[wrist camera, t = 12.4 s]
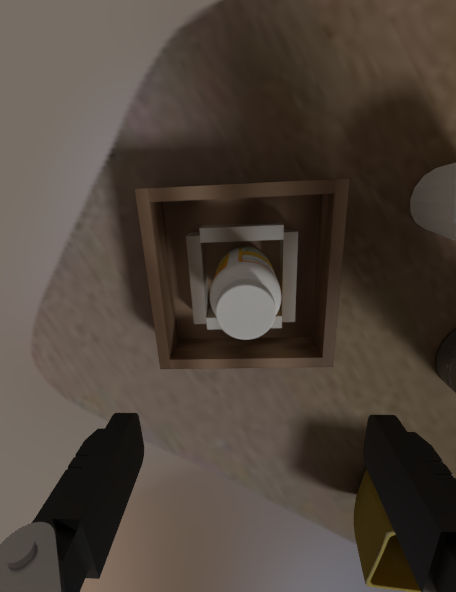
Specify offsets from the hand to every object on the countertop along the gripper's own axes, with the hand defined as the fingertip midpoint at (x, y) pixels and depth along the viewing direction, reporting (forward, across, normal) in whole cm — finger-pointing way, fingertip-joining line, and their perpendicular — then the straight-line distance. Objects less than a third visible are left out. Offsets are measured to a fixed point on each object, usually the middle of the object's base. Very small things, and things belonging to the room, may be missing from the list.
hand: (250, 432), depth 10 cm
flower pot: (+21, -17, +28) cm, 39 cm away
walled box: (+20, 0, 0) cm, 20 cm away
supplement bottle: (+19, 0, 0) cm, 19 cm away
